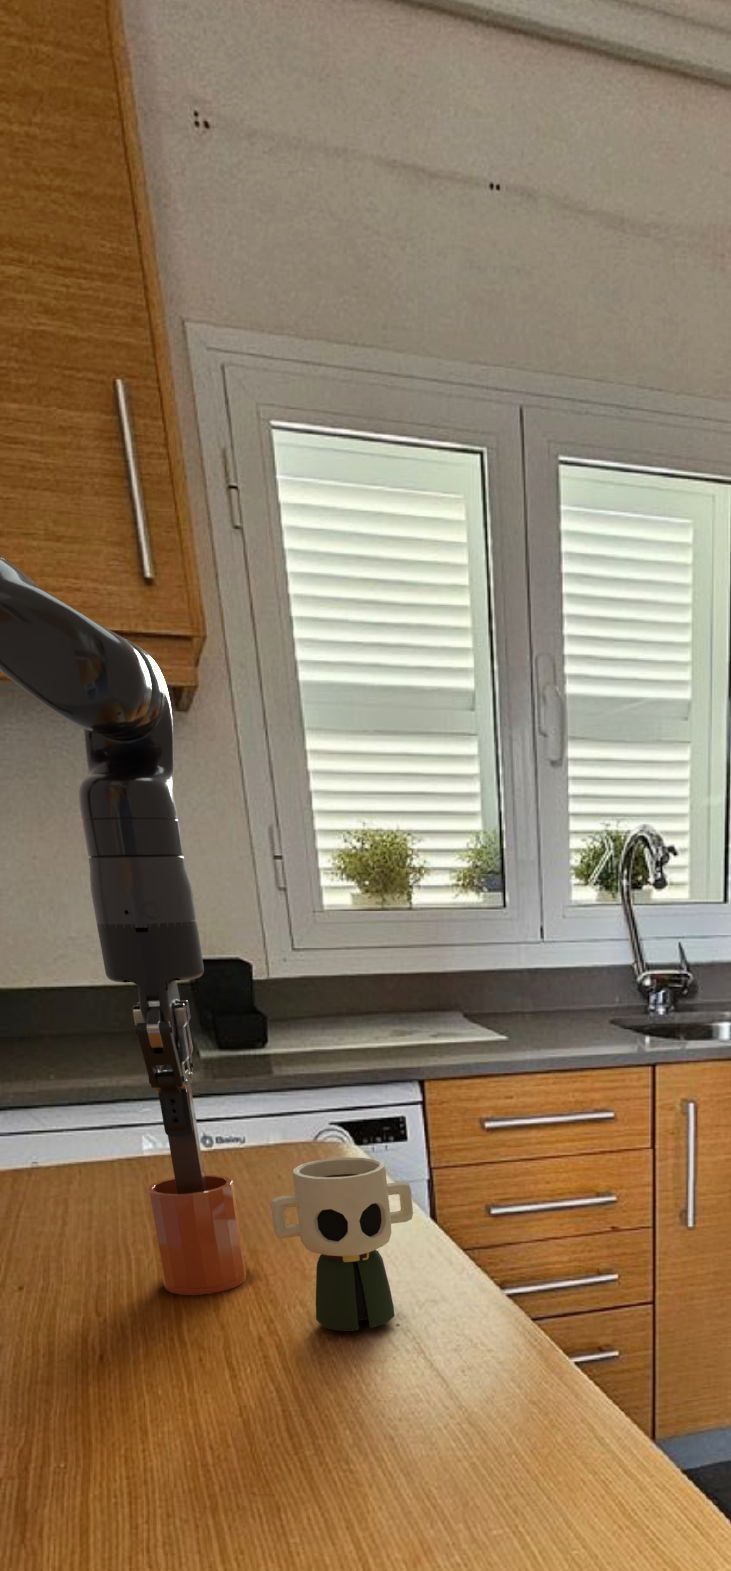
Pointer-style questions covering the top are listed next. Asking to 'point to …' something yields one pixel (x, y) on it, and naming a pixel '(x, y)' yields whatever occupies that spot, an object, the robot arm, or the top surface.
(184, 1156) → the stick
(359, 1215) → the character mug
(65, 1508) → the top surface
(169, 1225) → the tumbler
